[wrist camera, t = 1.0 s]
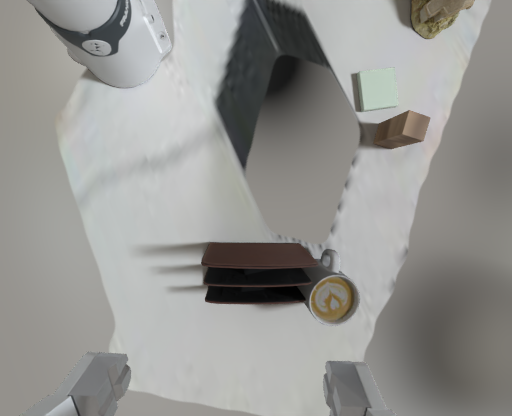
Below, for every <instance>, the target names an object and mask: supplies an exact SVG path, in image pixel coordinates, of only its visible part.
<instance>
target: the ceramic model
mask: <svg viewBox="0 0 512 416" xmlns="http://www.w3.org/2000/svg"><path fill="white" fill-rule="evenodd" d="M474 1H475V0H412V12H411V13H412V14H411V20H412V25H413V28H414V29H415V31H417V32H418V33H419V34H420V35H421V36H423V37H424V38H426V39H432V38H434V37H435V36H436V35H437V34H438V33H440V32H441V31H442V30H443V29H446V28H448V27H449V26H451V25H452V24H453V23H454V22H455V20H456V18H457V17H458V15H459V11H460V10H463V9H469V8H471V6H472V5H473V3H474Z"/></svg>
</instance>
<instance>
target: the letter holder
mask: <svg viewBox="0 0 512 416" xmlns="http://www.w3.org/2000/svg"><path fill="white" fill-rule="evenodd" d="M201 264H202V265H203V266H207V267H208V270H207V272H206V275H205V279H204V284H206V285H208V291H207V294H206V297H205V301H206V302H209V303H216V304H283V303H297V302H304V301H306V298H305V297H304V295H303V294H302V293H301V291H300V290H299V289H298V287H297V286H299V285H309V284H311V283H312V280H311V279H310V278H309V277H308V275H307V274H306V273H305V272H304V271H303V269H302V268H304V267H315V266H318V262H317V261H316V260H315V259H314V258H313V257H312V256H311V254H310V253H309V252H308V251H307V250H305V249H304V248H303V247H302V245H301V244H299V243H213V242H210V244H209V245H208V248H207V250H206V252H205V254H204V256H203V258H202V262H201Z"/></svg>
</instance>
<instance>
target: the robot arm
mask: <svg viewBox="0 0 512 416" xmlns="http://www.w3.org/2000/svg"><path fill="white" fill-rule="evenodd" d="M27 1H28V2H30V3H31V4H32V5H33V6H34V7H35V9H36V11H37V12H38V13H39V15H40V16H41V17H42V18H43V19H44V21H45V22H46V23H47V24H48V25H49V26H50V28H51V30H52V31H53V33H54V34H55V35H56V36H57V37H58V38H59V39H60V40H61V42H62V43H63V44H64V45H65V46H66V47H67V48H68V54H69V56H70V57H71V58H72V59H73V60H74V61H76V62H78V63H80V64H82V65H84V66H86V67H87V68H88V69H89V70H90V71H91V72H92V73H93V74H94V75H95V76H96V77H98V78H99V79H100V80H102V81H103V82H105V83H107V84H109V85H112V86H115V87H121V88H130V87H135V86H138V85H140V84H142V83H144V82H146V81H147V80H148V79H150V78H151V77H152V75H153V74H154V73H155V71H156V70H157V68H158V65H159V63H160V61H161V59H162V58H163V57H164V56H165V55H166V54H167V53H168V52H169V51H170V50H171V48H172V44H171V41H170V38H169V36H168V33H167V31H166V28H165V25H164V23H163V20H162V17H161V15H160V12H159V10H158V7H157V5H156V2H155V0H27ZM161 37H164V39H161ZM127 361H128V357H127V354H118V353H102V352H87V353H86V354H85V355H84V356H82V358H81V359H80V360H79V362H78V363H77V364H76V366H75V367H74V368H73V369H72V371H71V372H70V373H69V374H68V376H67V377H66V378H65V380H64V381H63V382H62V384H61V385H60V386H59V388H58V389H57V390H56V391H55V393H54V394H53V395H48V396H47V397H45V398H44V399H42V400H41V401H39V402H38V403H37V404H35V405H34V406H32V407H31V408H30V409H28V410H26V411H25V412H24V413H22V414H21V415H19V416H114V414H115V412H116V410H117V401H118V400H119V399H120V398H121V397H122V396H124V394H125V392H126V390H127V388H128V386H129V382H130V379H131V370H130V367H129V366H128V365H127V364H126V363H127ZM325 368H326V372H327V373H326V374H325V375H324V379H323V389H324V396H325V400H326V404H327V405H328V406H329V407H330V409H331V410H330V415H329V416H397V415H396V414H395V413H394V412H393V411H392V410H391V409H387V408H386V406H385V403H384V401H383V399H382V397H381V394H380V392H379V390H378V387H377V385H376V383H375V381H374V378H373V376H372V374H371V372H370V369H369V367H368V365H367V364H366V363H365V362H351V361H327V362H326V366H325Z"/></svg>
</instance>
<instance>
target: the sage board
mask: <svg viewBox="0 0 512 416" xmlns="http://www.w3.org/2000/svg"><path fill="white" fill-rule="evenodd" d="M357 81H358V90H359V98H360V107H361V112H366V111H372V110H379V109H386V108H393V107H396V106H398V105H399V104H398V95H397V85H396V75H395V67H393V68H385V69H377V70H369V71H361V72H359V73H358V74H357Z"/></svg>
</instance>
